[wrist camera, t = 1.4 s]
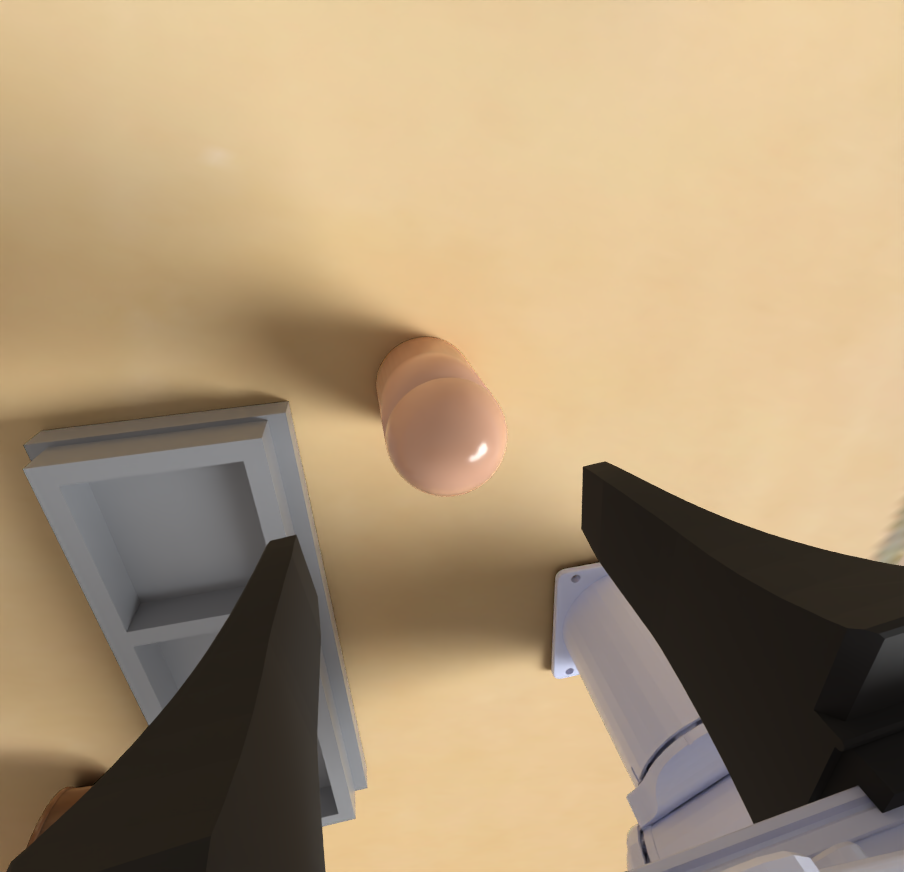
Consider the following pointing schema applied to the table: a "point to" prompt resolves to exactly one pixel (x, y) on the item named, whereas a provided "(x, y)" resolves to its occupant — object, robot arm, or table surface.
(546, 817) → the table surface
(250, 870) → the robot arm
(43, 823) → the tin
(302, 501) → the grey compartment tray
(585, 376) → the table surface
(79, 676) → the table surface
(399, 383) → the tan rounded cylinder
